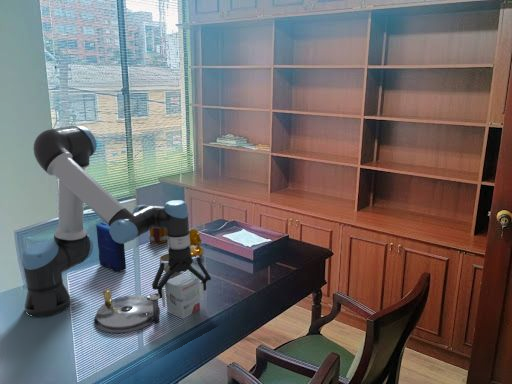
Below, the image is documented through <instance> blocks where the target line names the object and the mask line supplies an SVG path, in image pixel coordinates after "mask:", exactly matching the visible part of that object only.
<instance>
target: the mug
mask: <svg viewBox="0 0 512 384" xmlns="http://www.w3.org/2000/svg"><path fill="white" fill-rule="evenodd" d="M148 239H149V242H150V243H153V244H156V245H160V244H163V243H168V241H167V230H166V229H163V228H152V229H150V230H149V234H148Z"/></svg>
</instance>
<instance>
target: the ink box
mask: <svg viewBox="0 0 512 384" xmlns="http://www.w3.org/2000/svg"><path fill="white" fill-rule="evenodd" d="M164 289H165V290H164V292H165V302H166V310H167V313H170V314H171V315H174V316H176V317H178V318H181V319H184V318H186V317H188V316H190V315H191V314H193V313H196V312H197V311H198V310H200V309H201V304H200V303H201V302H200V285H199V278H195V277H193V276H190V275H187V274H185V273H180V274H179V275H175V276H173V278H172V277H171V278H170V279H169V280H168V281H167V283H166V284H165V285H164Z"/></svg>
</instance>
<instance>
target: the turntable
mask: <svg viewBox="0 0 512 384" xmlns="http://www.w3.org/2000/svg"><path fill="white" fill-rule="evenodd" d="M147 297H148V296H146V295H141V294H140V295H139V294H138V295H137V294H128V295H123V296H120V297H116V298H113V299H112V293H111V289H105V290H103V298H104V303H103V304H102V305H101V306H99V308H98V309H97V311H96V314H97V321H98V323H99V324H100V325H101V326H103V327H105V328H109V329H128V328H133V327H137V326H139V325H142V324H144V323H146V322H148V321H149V320H151V319H152V318H153V317H154V313H153V301H150V300H147Z"/></svg>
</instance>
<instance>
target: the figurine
mask: <svg viewBox="0 0 512 384" xmlns="http://www.w3.org/2000/svg"><path fill="white" fill-rule="evenodd" d="M189 235H190V244H189V245H190V247H195V246H196V247H195V248H192V249H191V257H195V256H196V255H199V257H201V256H203V255H202V254H204V250H203V249H204V248H202V247H201V242H202V239H201V235H200V233H199V231H198V230H197V229H194V228H192V229H189ZM200 255H201V256H200Z"/></svg>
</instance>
